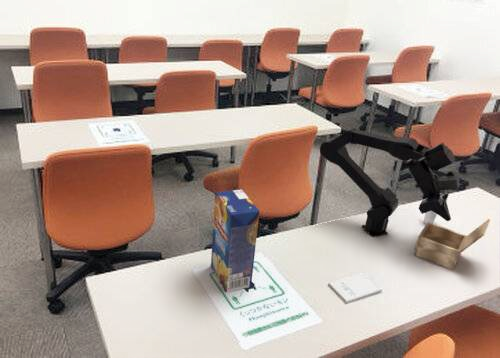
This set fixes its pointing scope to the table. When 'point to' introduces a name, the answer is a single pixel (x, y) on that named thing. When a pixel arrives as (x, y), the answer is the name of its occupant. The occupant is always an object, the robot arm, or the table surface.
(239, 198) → the juice carton
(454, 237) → the carton
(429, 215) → the milkshake
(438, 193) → the robot arm
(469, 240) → the flap
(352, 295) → the external hard drive
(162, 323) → the table surface
